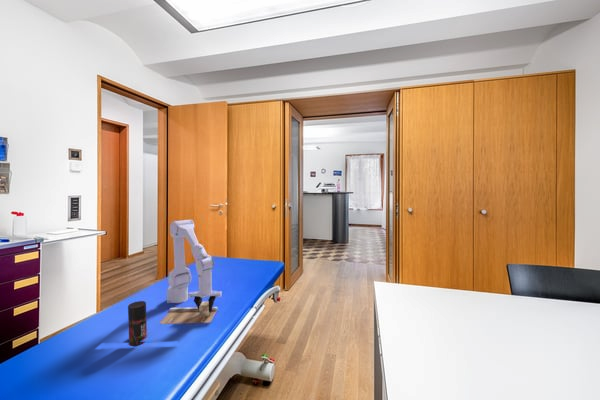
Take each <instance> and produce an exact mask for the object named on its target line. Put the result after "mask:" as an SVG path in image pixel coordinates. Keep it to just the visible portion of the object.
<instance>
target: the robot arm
mask: <svg viewBox="0 0 600 400" xmlns="http://www.w3.org/2000/svg"><path fill="white" fill-rule="evenodd" d="M169 232H170V233H169V234H170V237H172V239H173V240H172V242H173V259H174V260H173V263H174V268H173V269H171V271H170V272H168V278H167V281H168V283H167V284H168V288H167V291H166V303H167V304H171V303H173V304H182V303H185V302H186V301H188V299H191V298H194V299H193V302H194V304H195V305H196V307H198V310H199V306H200V305H201V303H202V302H203V299H204V298H206V297H207V298H208V300H207V301H209V313H211V311H212V307H214V302H215V301H216V297H217V298H221V297H222V295H223V294H222V293H223V292H222V291H220V290H219V291H218V290H213V285H212V284H213V282H212V280H213V277H212V269H213V268H214V266H215V260H214V258H213V257H212V256H211V255H210V254H208V252H207V251H206V249H205V247H204V245H203V244H200V242H199V240H198V238H197V236H196V234H195V222H194V220H193V219H184V220H183V219H182V220H173V221H172V222H171V223H170V225H169ZM185 239H186V241H187V242H188V244H189V245H190V247H191V249H190V252H191V255H192V256H193V258H194V260H195V268H196V274H197V276H198V290H197V291H190V292H189V286H190V283H191V282H192V274H191V269H190V268H188V267H186V257H185V255H186V254H185Z"/></svg>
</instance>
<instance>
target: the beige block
mask: <svg viewBox="0 0 600 400" xmlns="http://www.w3.org/2000/svg"><path fill="white" fill-rule="evenodd" d="M209 315H210V313H209V301H208V300H205V301H203V300H202V303H201V305H200V306H199V317H208V316H209Z"/></svg>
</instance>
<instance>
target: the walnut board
mask: <svg viewBox="0 0 600 400" xmlns="http://www.w3.org/2000/svg"><path fill="white" fill-rule="evenodd" d="M218 309H219V308H218V306H213V307H212V311H211V313H210V315H209V316H208V317H199V310H198V307H197V306H195V307H193V306H191V307H190V306H189V307H170V308H169V312H168V313H167V314H166V315H165V316H164V317H163V318H162V319H161V320H160V322H159V323H158V325H164V324H165V325H167V324H170V325H171V324H172V325H173V324H204V323H205V324H209V323H211V322H212V320H213V319H214V316H215V315H216V313H217V311H218Z"/></svg>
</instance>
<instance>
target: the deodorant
mask: <svg viewBox="0 0 600 400" xmlns="http://www.w3.org/2000/svg"><path fill="white" fill-rule="evenodd" d="M127 313H128V314H127V318H128V321H127V322H128V345H129V346H131V347H139V346H141V345H144V343H146V341H144V340H145V339H146V338H147V336H148V333H147V331H148V327H147V326H148V325H147V323H148V322H147V302H146V301H145V300H138V301H133V302H132V303H130V304H128V306H127Z"/></svg>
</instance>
